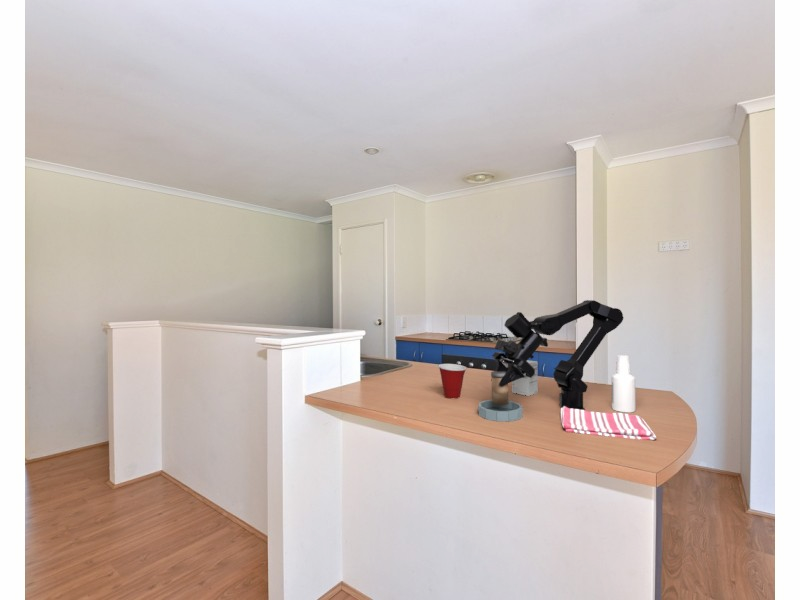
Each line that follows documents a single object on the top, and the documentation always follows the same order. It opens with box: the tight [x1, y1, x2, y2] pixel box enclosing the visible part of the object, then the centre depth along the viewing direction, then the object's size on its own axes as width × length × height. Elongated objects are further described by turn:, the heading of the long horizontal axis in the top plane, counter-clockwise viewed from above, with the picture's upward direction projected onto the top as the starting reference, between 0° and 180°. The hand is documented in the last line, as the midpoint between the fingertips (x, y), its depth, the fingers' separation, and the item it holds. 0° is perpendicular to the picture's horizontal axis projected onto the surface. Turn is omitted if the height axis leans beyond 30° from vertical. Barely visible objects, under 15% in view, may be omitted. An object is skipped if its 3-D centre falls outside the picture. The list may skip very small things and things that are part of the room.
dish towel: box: [560, 406, 657, 441], centre depth 115 cm, size 17×23×4 cm
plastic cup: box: [438, 363, 468, 399], centre depth 150 cm, size 11×11×12 cm
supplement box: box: [511, 359, 539, 397], centre depth 153 cm, size 7×7×13 cm
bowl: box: [477, 399, 524, 422], centre depth 127 cm, size 14×14×3 cm
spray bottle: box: [611, 354, 636, 414], centre depth 130 cm, size 7×7×18 cm
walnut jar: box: [490, 370, 509, 406], centre depth 127 cm, size 5×5×10 cm
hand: (495, 383), depth 127 cm, fingers closed on walnut jar, 5 cm apart
